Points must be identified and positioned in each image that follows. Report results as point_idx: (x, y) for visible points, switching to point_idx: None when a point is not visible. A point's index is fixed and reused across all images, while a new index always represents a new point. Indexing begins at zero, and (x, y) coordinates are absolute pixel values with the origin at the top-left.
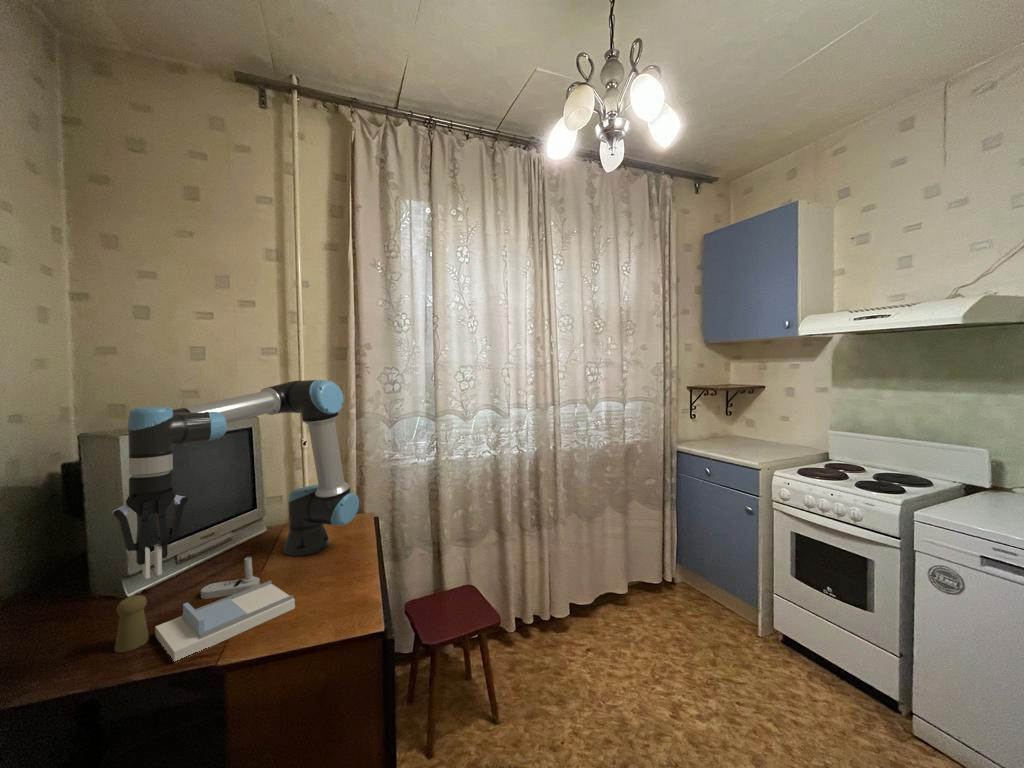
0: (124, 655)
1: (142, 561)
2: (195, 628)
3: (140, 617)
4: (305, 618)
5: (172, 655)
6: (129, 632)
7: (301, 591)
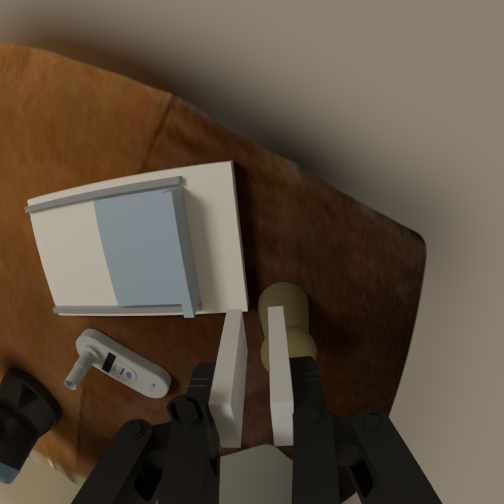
0: (298, 271)
1: (298, 366)
2: (183, 215)
3: None
4: (35, 142)
5: (233, 175)
6: (292, 303)
7: (26, 253)
